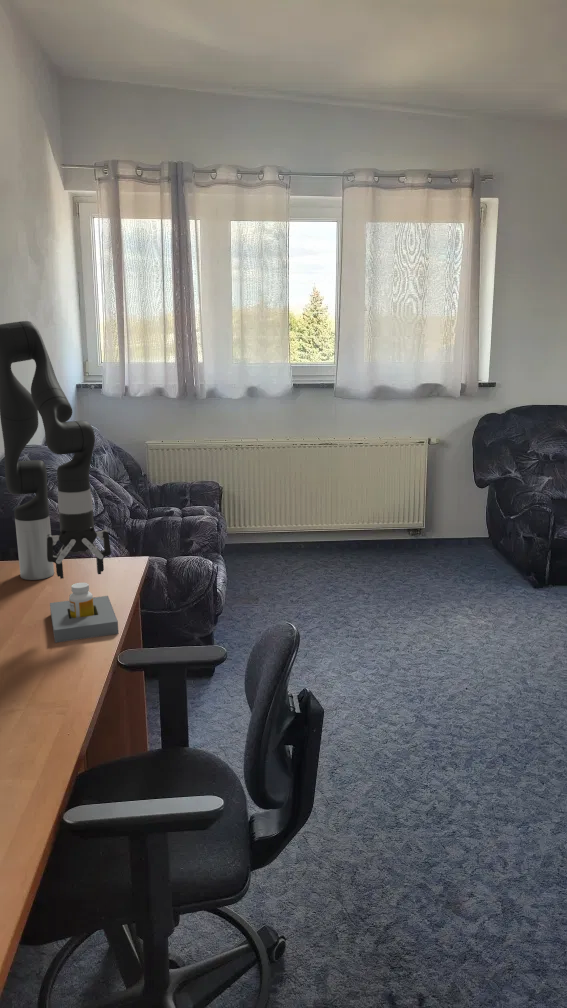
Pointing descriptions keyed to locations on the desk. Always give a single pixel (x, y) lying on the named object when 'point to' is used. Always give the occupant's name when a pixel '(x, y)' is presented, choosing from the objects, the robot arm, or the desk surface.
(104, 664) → the desk surface
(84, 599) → the supplement bottle
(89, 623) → the socket holder
